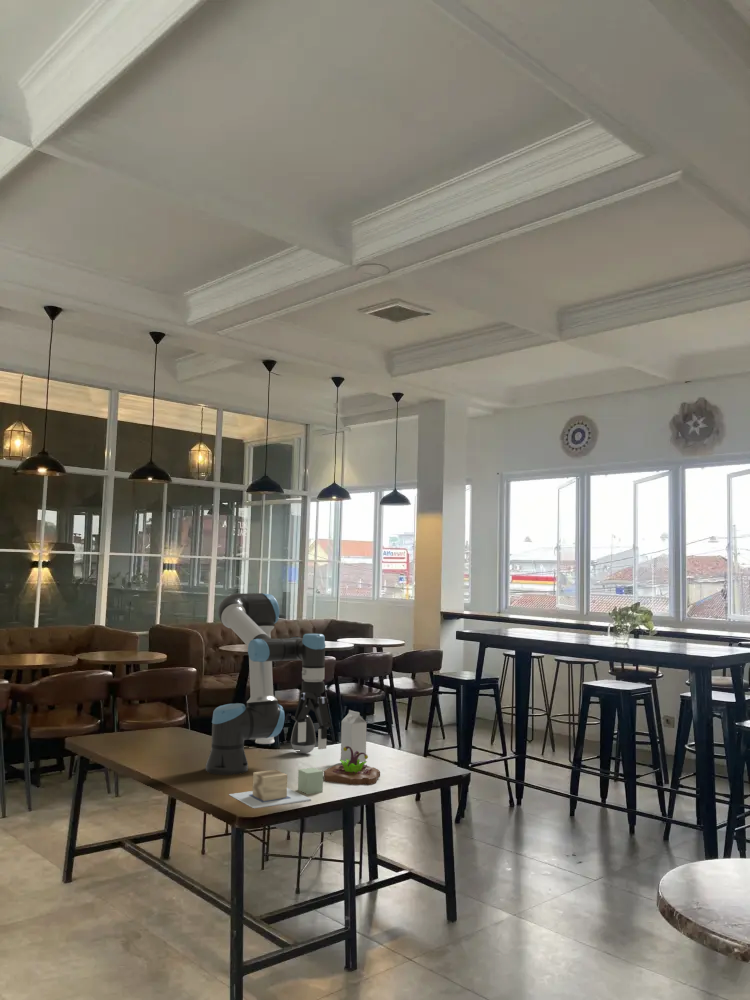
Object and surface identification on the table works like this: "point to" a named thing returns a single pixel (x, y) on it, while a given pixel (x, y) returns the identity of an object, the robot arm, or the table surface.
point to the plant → (352, 771)
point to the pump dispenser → (310, 737)
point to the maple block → (269, 785)
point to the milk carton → (353, 735)
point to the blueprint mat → (258, 803)
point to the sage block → (310, 780)
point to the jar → (265, 740)
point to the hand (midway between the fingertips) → (311, 745)
